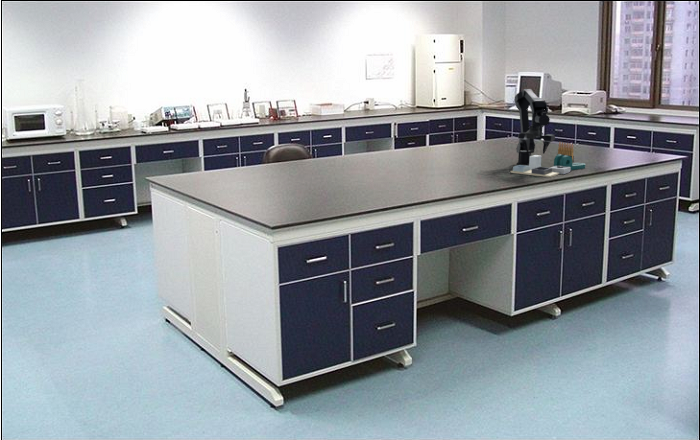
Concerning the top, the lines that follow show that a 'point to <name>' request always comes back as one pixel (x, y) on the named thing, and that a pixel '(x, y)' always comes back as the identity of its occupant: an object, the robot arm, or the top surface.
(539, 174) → the board
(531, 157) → the plug
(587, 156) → the top surface
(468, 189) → the top surface
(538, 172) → the frame
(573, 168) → the bracket
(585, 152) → the top surface
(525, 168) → the header 3pin
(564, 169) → the grey knob block
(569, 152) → the ammunition clip
